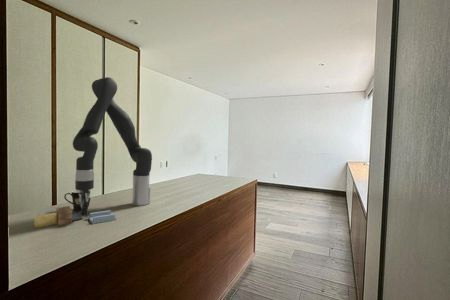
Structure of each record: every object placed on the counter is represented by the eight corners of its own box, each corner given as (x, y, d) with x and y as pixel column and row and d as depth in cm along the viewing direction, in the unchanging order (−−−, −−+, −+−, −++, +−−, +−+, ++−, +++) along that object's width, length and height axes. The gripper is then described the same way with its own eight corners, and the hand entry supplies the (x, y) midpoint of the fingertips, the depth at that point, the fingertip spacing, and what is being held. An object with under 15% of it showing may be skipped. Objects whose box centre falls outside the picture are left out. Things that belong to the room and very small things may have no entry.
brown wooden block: (69, 217, 114) (69, 206, 114) (71, 222, 108) (72, 210, 107) (56, 219, 111) (56, 207, 111) (58, 225, 104) (58, 212, 104)
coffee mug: (93, 208, 130) (94, 190, 130) (80, 212, 122) (80, 193, 121) (76, 205, 133) (77, 188, 133) (62, 210, 125) (62, 191, 125)
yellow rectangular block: (56, 221, 109) (56, 212, 109) (58, 223, 107) (58, 214, 107) (34, 225, 103) (34, 216, 103) (36, 227, 101) (36, 218, 101)
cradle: (110, 215, 121) (111, 209, 120) (116, 219, 114) (116, 214, 114) (88, 218, 114) (88, 213, 114) (92, 223, 108) (92, 218, 108)
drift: (79, 217, 115) (79, 211, 115) (81, 218, 113) (81, 212, 113) (57, 221, 108) (57, 215, 108) (59, 223, 106) (59, 216, 106)
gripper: (97, 180, 111) (96, 217, 112) (90, 176, 121) (89, 210, 122) (78, 181, 106) (77, 220, 107) (73, 177, 116) (72, 212, 117)
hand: (84, 215), depth 114 cm, fingers closed
